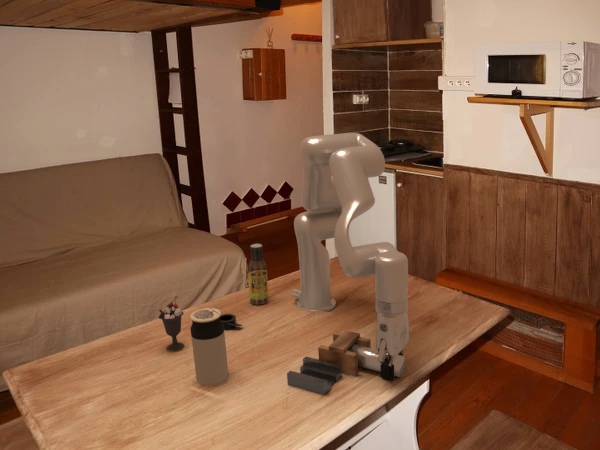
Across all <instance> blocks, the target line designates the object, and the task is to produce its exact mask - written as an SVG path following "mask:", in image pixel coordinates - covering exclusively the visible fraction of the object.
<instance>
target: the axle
mask: <svg viewBox="0 0 600 450" xmlns="http://www.w3.org/2000/svg"><path fill="white" fill-rule="evenodd" d="M346 351H349V352H354V353H357V360H358V366H360V367H363V368H364V369H368V370H372V371H374V372H375V371H376V372H379V373H381V364H380V361H378V360H377V358H378V354H379V353H378V352H377V348H373V347H371V348H368V347H364V346H360V345H356V344H352V345H351V346H350V347H349V348H348V349H347V350H346ZM385 357H386V358H388V359H389V357H390V356H389V355H385ZM392 365H394V377H398V378H402V377H403V375H404V373H405V372H406V371H405V370H406V366H407V358H406V356H404V355H403V356H401V355H397V356H393V364H392Z"/></svg>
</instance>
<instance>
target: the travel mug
mask: <svg viewBox="0 0 600 450" xmlns="http://www.w3.org/2000/svg"><path fill="white" fill-rule="evenodd" d="M221 315H222V312H221V310H220V309H218V308H215V307H205V308H200V309H197V310H195V311H193V312H192V313H191V314H190V316H189V319H190V320H191V322H192V324H191V326H190V328H189V330H190V336H191V337H190V338H191V344H192V353H193V360H194V361H193V362H194V369H195V377H196V378H195V379H196V382H197V383H198V384H200V385H201V386H206V387H207V386H208V387H210V386H216V385H219V384H222V383H224V382H225V381H227V379H228V378H229V375H230V374H229V365H228V364H229V363H228V356H227V346H226V335H225V334H226V333H225V330H224V324H223V322H222V321H221V320H220V316H221Z"/></svg>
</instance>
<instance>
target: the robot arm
mask: <svg viewBox="0 0 600 450" xmlns="http://www.w3.org/2000/svg"><path fill="white" fill-rule="evenodd" d="M299 154H300V160H301V163H302V167H303V173H302V184H301V195H300V196H301V205H302V207H303V209H304V210H306V211H304V212H301V213H299V214H297V215H296V216H295V217H294V221H293V228H294V233H295V237H296V242H297V248H298V264H299V276H300V278H299V279H300V289H297V288H293V289H292V291H291V292H292V293H291V297H292V298H297V299H298V300H297V302H296V306H297V307H298V308H299V309H301V310H303V311H308V312H330V311H332V310H333V309H334V308H336V306H337V301H336V299H335V298H333V297H332V294H331V273H330V272H331V271H330V255H329V254H330V253H329V252H328V248H326V246H324V244H322V241H324V240H329V239H334V247H335V251H336V255H337V259H338V261H339V265H340V267H341V270H342V272H343V273H344V275H345V276H347V277H348V278H349V279H361V278H366V277H371V276H374V295H375V297H374V298H375V301H374V305H375V311H376V313H377V316H376V317H377V318H376V330H375V331H376V332H375V334H376V335H375V344H376V345H375V347H376V348H375V349H376V350H377V352H378V353H379V354H378V358H377V360H378V361H380V364H381V372H380V378H382V379H384V380H389V381H394V380H395V376H394V365H392V364H393V356H397V355H401V356H404V354H403V353H404V348H405V347H406V345H407V344H408V342H409V340H410V324H409V321H410V320H409V294H408V293H409V259H408V256H407V255H406V254H404V253H403V252H400V251H398V250H397V248H396V247H395V245H394V244H392V243H391V242H388V241H380V242H374V243H368V244H362V245H356V246H353V245H352V243H351V239H350V233H349V231H350V230H349V229H350V226H351V222H353V221H354V220H355V219H357V218H358V217H360V216H362V215H363V214H364V213H366V212H367V211H369V210H370V209H372V208H373V207H374V205H375V203H376V199H375V196H374V192H373V189H372V186H371V184H370V180H369V178H376V177H379V176H381V175H382V174H383V173H384V171H385V168H386V161H385V160H386V159H385V156H384V154H383V152H382V150H381V148H379V146H378V145H377V143H375V142H373V141H371V140H370V139H368V138H367V137H365V136H364V135H363V134H362V133H358V132H345V133H344V132H343V133H333V134H322V135H321V134H320V135H313V136H307V137H305V138H304V139H302V141H301V143H300V147H299ZM385 355H389V356H390V357H389V359H388V358H386V357H385Z"/></svg>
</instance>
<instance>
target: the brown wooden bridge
mask: <svg viewBox="0 0 600 450" xmlns="http://www.w3.org/2000/svg"><path fill="white" fill-rule="evenodd" d="M360 334H361V333H360V332H356V331H355V332H354V331H351V330H344V331H343V332H339V331H334V332H333V334H332V343H331V344H329V346H328V345H321V344H320V345H319V346H318V348H317V350H318V359H319V360H323V361H327V362H331V363H335V364H339V365H342V375H348V376H351V377H356V376H357V375H358V374H359V373H360V372H361V371H362V370H363V368H364V367H360V366H358V360H357V353H354V352H349V351H346V350H347V349H348V348H349V347H350V346H351V345H352V344H356V345H360V346H364V347H368V348H372V347H371V346H372V345H371V341H372V339H371V338H367V337H363V336H362V337H361V335H360Z"/></svg>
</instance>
